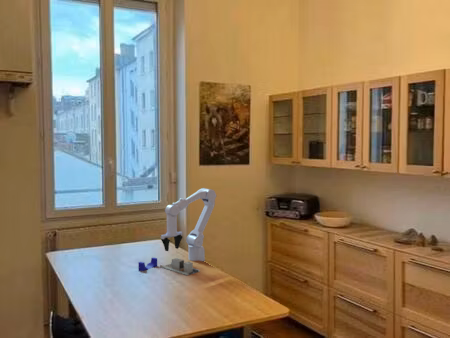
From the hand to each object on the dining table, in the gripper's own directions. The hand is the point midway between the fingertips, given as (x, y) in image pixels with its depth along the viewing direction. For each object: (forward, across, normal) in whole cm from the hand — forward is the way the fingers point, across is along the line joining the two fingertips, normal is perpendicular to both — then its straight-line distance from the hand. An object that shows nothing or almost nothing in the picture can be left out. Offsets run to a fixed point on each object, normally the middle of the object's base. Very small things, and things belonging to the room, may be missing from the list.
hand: (171, 249), depth 266 cm
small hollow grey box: (+8, +5, +19) cm, 21 cm away
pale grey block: (+8, +5, +11) cm, 14 cm away
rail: (+9, +5, +12) cm, 16 cm away
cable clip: (+10, +15, -3) cm, 19 cm away
